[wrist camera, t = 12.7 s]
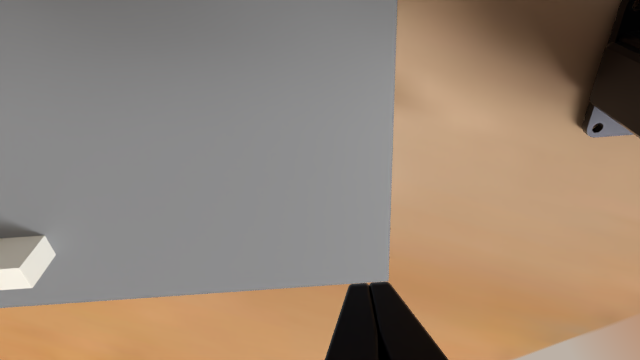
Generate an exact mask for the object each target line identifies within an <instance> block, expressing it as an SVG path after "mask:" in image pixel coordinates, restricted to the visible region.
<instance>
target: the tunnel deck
mask: <svg viewBox="0 0 640 360" xmlns="http://www.w3.org/2000/svg"><path fill="white" fill-rule="evenodd" d="M396 26H397V0H0V308H6V307H21V306H35V305H50V304H64V303H78V302H93V301H107V300H122V299H136V298H151V297H165V296H180V295H194V294H208V293H223V292H237V291H252V290H266V289H281V288H295V287H310V286H324V285H338V284H353V283H367V282H382V281H388V277H389V246H390V215H391V183H392V152H393V120H394V89H395V57H396Z"/></svg>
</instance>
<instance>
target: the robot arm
mask: <svg viewBox="0 0 640 360" xmlns="http://www.w3.org/2000/svg"><path fill="white" fill-rule="evenodd" d="M635 1H636V0H622V1H621V3H620V6H619V9H618V13H617V16H616V19H615V22H614V25H613V29H612V32H611V35H610V38H609V41H608V45H607V47H606V48H605V50H604V54H603V57H602V60H601V63H600V67H599V70H598V73H597V76H596V80H595V83H594V86H593V89H592V92H591V96H590V99H589V100H590V103H589V106H588V109H587V112H586V115H585V119H584V122H583V125H582V129H583V131H584V132H585V133H586V134H587V135H589V136H590V137H607V136H620V135H636V136H637V137H639V138H640V0H639V3H638V5H637V6H636V7H635V8H633V9H632V6H633V4H634V2H635ZM596 124H598V125H597V127H595V128H594V129H592V128H593V126H594V125H596ZM325 360H448V359H447V357H446V356H445V355H444V353H443V352H442V351H441V349H440V348H439V347H438V345H437V344H436V343H435V342H434V340H433V339H432V338H431V336H430V335H429V334H428V332H427V331H426V330H425V329H424V327H423V326H422V325H421V323H420V322H419V321H418V319H417V318H416V317H415V315H414V314H413V313H412V312H411V310H410V309H409V308H408V306H407V305H406V304H405V302H404V301H403V300H402V298H401V297H400V296H399V295H398V293H397V292H396V291H395V289H394V288H393V287H392V285H391V284H390V283H388V282H373V283H371V284H370V285H368V284H367V283H359V284H351V285H350V286H349V287H348V290H347V293H346V297H345V300H344V303H343V306H342V309H341V312H340V315H339V318H338V321H337V324H336V327H335V330H334V333H333V336H332V340H331V343H330V346H329V349H328V352H327V355H326V358H325Z"/></svg>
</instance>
